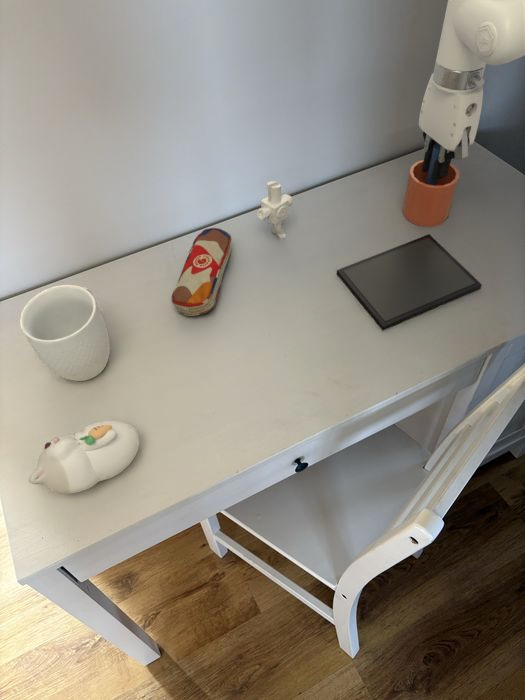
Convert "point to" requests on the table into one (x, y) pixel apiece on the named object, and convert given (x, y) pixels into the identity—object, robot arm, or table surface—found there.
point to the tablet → (407, 281)
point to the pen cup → (429, 196)
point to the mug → (67, 331)
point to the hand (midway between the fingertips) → (434, 172)
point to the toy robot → (275, 208)
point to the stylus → (434, 157)
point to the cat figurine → (86, 457)
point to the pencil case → (202, 273)
